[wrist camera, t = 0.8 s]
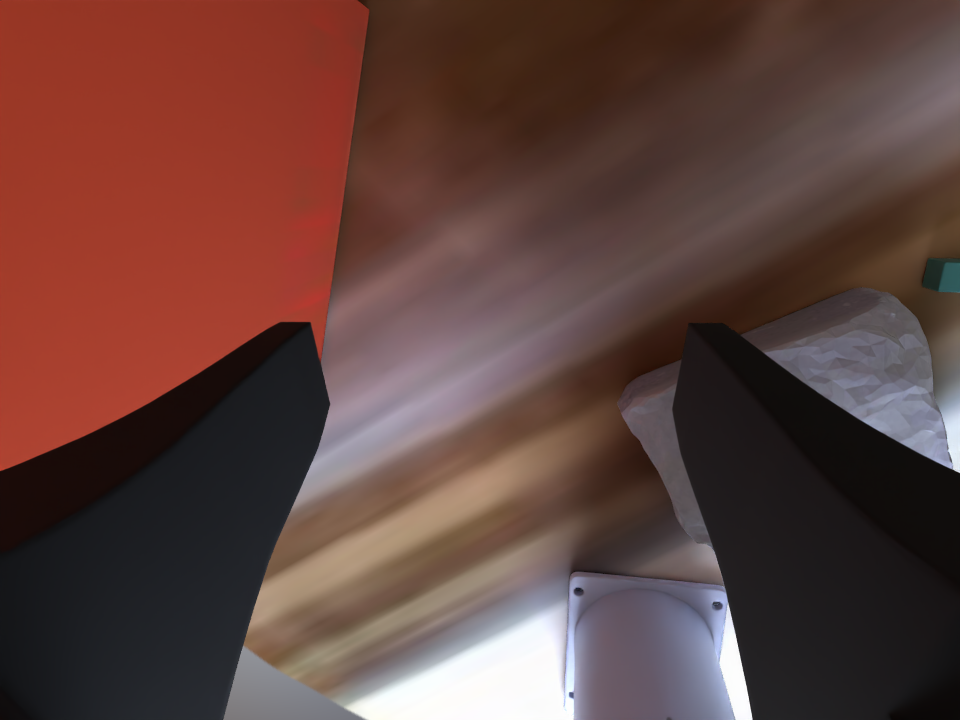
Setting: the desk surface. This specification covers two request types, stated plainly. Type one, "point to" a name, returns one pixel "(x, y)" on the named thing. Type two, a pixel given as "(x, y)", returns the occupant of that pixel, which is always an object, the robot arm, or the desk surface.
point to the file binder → (161, 194)
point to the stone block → (813, 383)
